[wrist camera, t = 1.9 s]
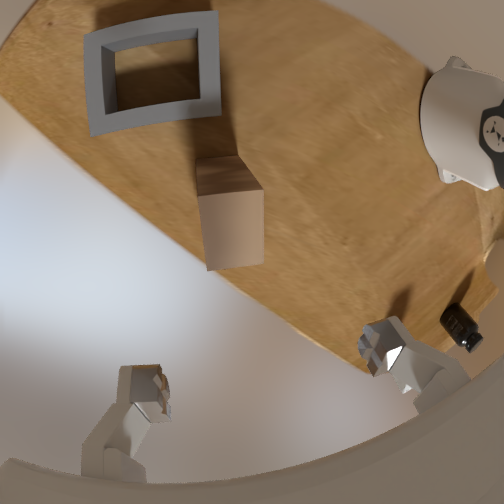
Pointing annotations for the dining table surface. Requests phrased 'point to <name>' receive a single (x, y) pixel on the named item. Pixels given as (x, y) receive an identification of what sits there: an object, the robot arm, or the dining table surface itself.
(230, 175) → the walnut peg
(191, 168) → the dining table surface
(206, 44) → the holder
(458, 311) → the supplement bottle
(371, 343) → the robot arm
